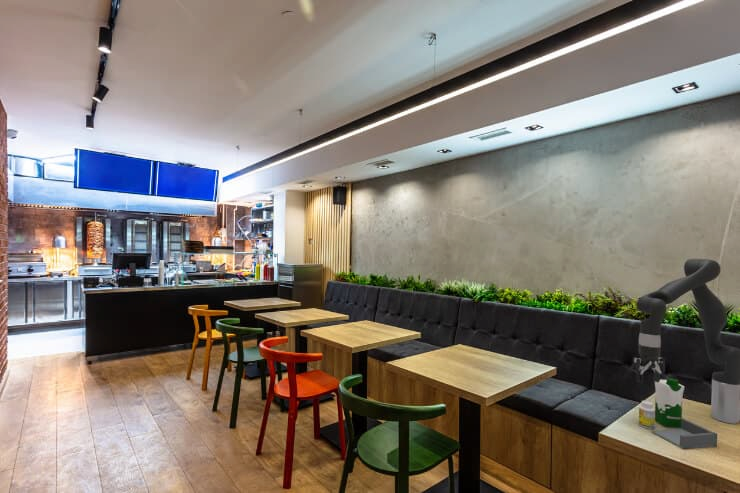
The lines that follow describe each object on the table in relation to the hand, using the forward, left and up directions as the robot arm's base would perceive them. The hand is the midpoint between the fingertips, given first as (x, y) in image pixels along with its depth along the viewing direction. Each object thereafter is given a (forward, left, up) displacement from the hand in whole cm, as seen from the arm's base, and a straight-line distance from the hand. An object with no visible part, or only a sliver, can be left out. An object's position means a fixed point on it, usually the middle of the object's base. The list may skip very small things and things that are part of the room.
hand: (648, 382), depth 162 cm
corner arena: (-5, +11, -19) cm, 23 cm away
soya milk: (-12, -1, -19) cm, 23 cm away
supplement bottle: (0, 0, -19) cm, 19 cm away
